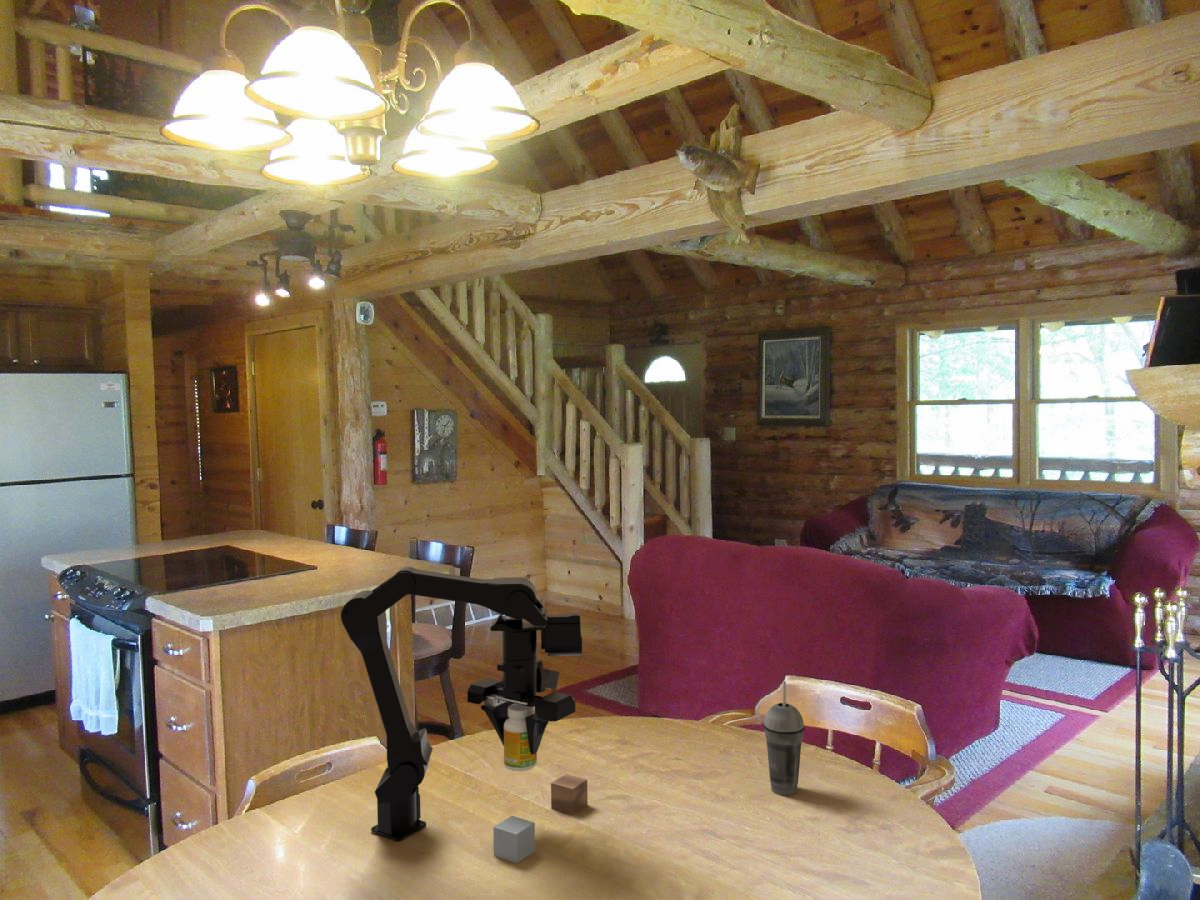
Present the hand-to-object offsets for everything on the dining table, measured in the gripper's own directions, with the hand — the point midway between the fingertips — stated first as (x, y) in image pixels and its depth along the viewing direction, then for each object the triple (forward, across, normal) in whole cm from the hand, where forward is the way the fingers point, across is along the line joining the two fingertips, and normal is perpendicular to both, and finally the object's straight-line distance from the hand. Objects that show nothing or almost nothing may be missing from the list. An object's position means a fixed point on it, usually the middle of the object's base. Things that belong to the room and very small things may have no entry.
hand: (520, 750), depth 141 cm
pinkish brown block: (+12, -3, -10) cm, 16 cm away
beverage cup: (+12, -32, -35) cm, 49 cm away
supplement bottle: (+3, 0, 0) cm, 3 cm away
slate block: (+12, -5, +8) cm, 16 cm away
